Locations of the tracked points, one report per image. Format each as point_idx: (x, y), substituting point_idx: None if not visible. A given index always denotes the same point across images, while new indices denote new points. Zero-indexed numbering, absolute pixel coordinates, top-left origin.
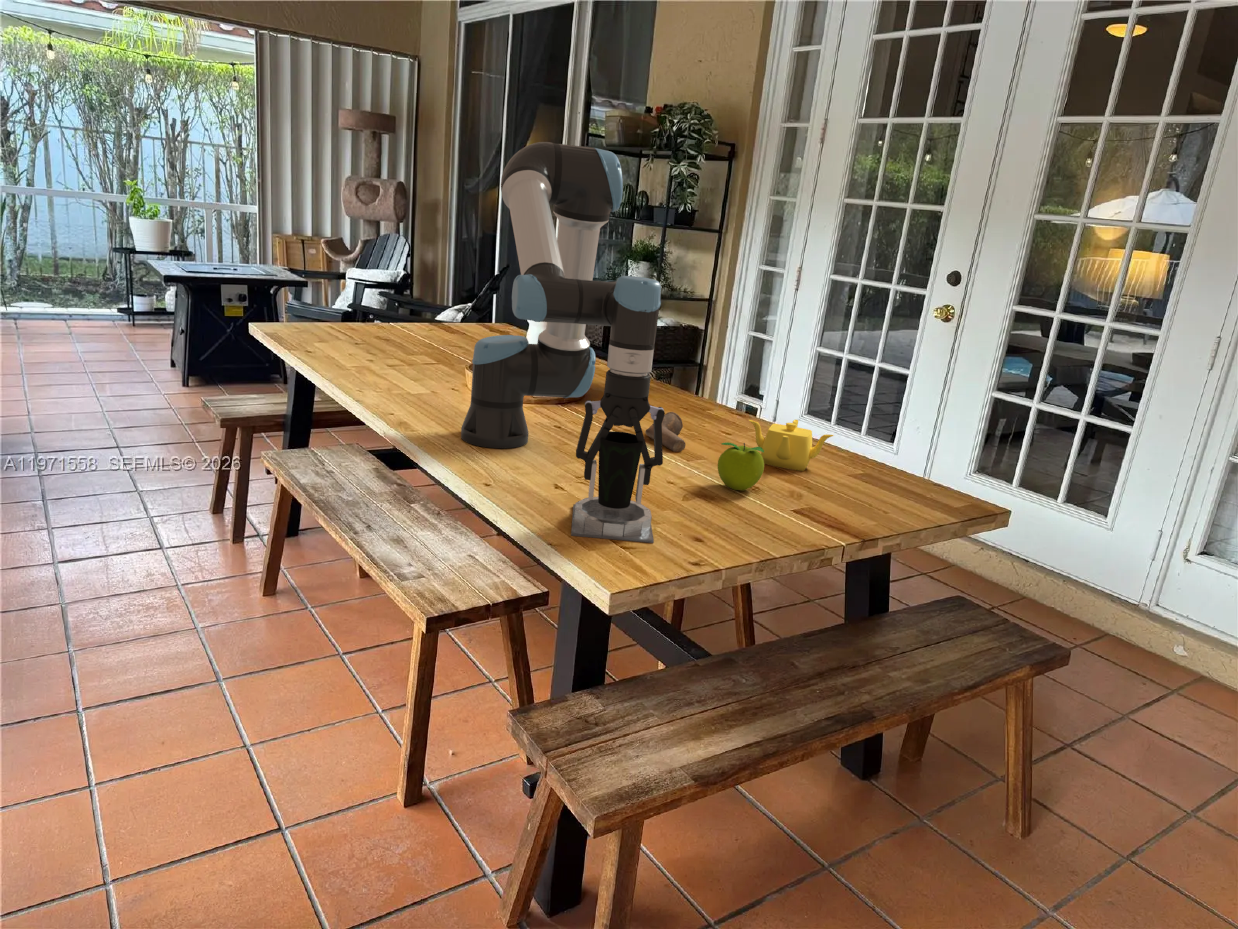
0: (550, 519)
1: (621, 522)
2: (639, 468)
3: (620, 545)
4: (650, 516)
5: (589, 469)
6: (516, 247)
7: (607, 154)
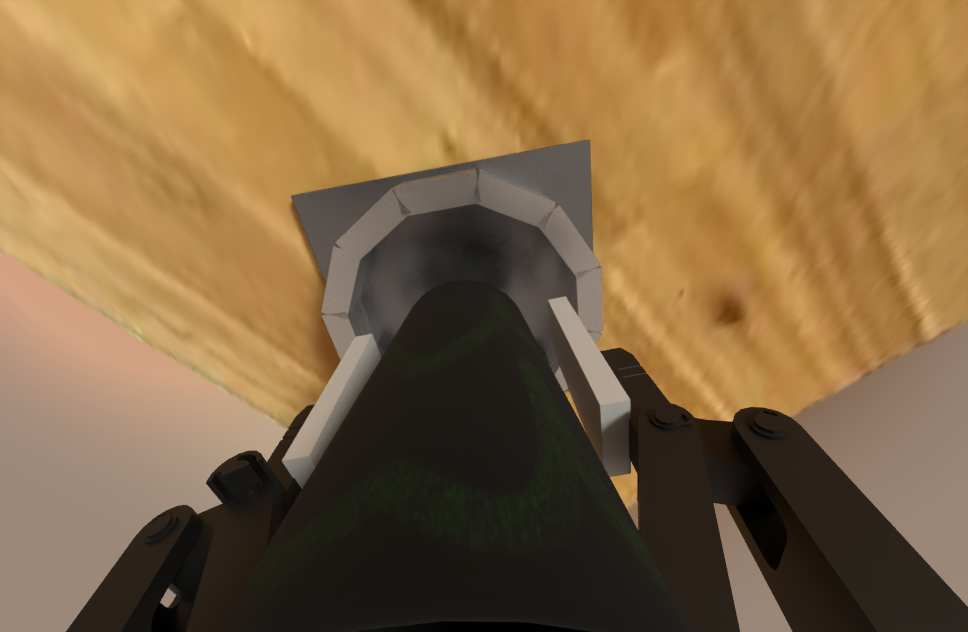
0: (284, 337)
1: None
2: (593, 410)
3: None
4: (599, 328)
5: None
6: None
7: None
